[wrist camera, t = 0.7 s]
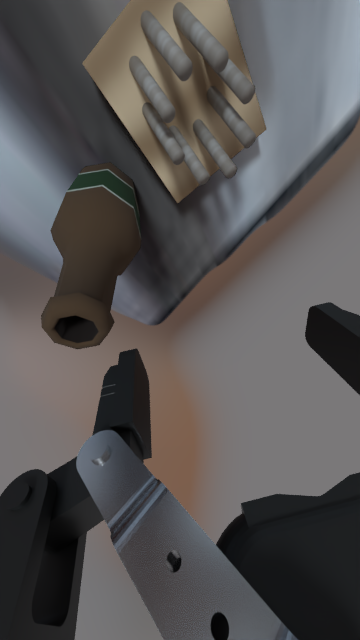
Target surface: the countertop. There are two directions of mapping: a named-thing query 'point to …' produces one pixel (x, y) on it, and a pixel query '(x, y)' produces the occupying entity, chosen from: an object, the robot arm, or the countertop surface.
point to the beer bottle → (91, 254)
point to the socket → (179, 87)
